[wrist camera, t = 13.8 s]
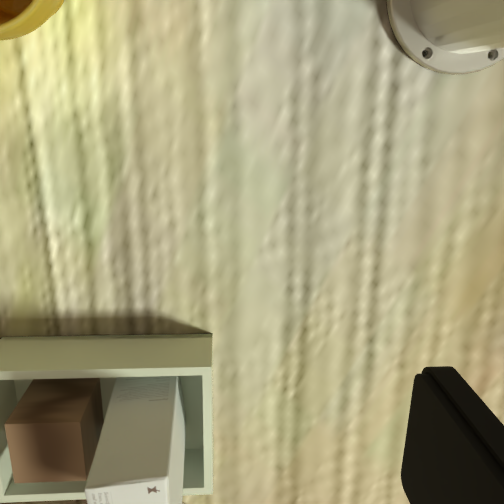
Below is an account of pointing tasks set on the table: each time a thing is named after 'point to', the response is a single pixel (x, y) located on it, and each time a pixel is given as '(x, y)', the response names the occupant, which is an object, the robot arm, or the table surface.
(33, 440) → the walnut block
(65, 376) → the tray
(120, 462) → the skincare box
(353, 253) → the table surface
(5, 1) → the plant pot
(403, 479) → the robot arm
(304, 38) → the table surface
